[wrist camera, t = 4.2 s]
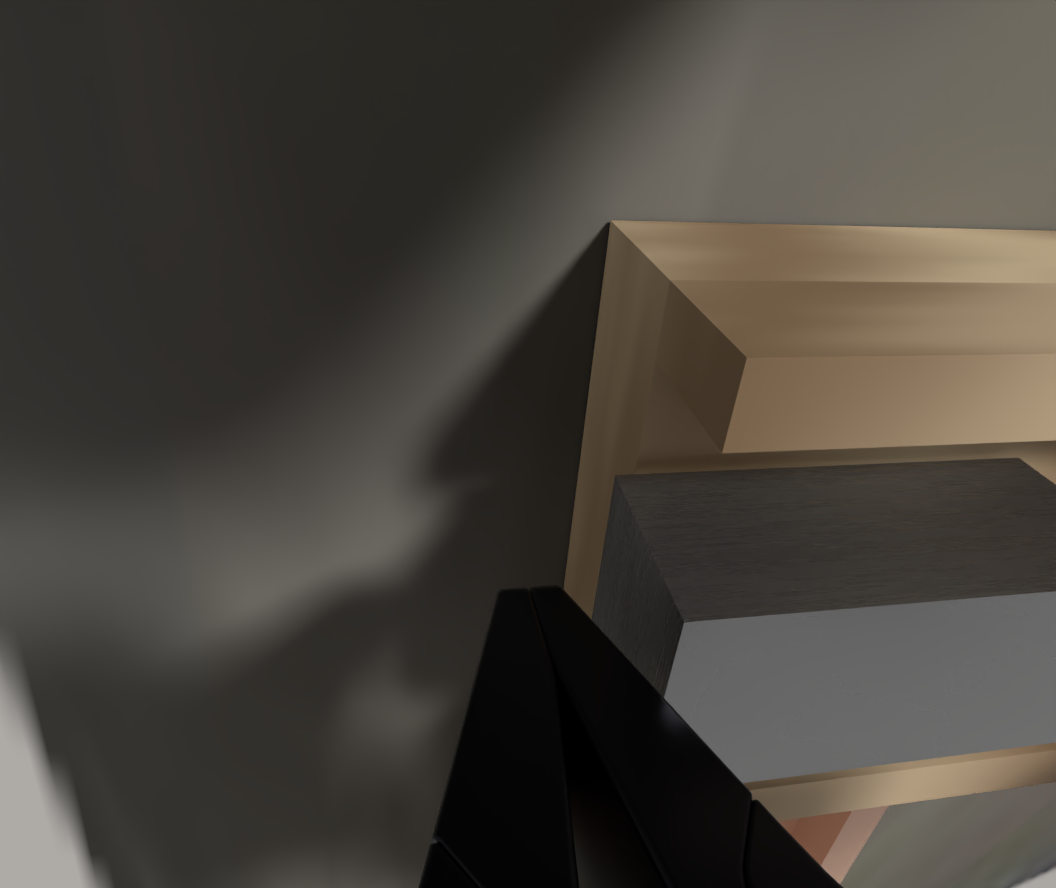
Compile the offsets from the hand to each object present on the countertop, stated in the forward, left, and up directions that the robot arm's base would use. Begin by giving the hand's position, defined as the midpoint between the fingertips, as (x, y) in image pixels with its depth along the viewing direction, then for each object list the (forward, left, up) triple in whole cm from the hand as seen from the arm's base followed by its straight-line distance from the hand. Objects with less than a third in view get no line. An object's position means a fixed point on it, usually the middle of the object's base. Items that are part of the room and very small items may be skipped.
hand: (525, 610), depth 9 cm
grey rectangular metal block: (-4, 0, -1) cm, 4 cm away
